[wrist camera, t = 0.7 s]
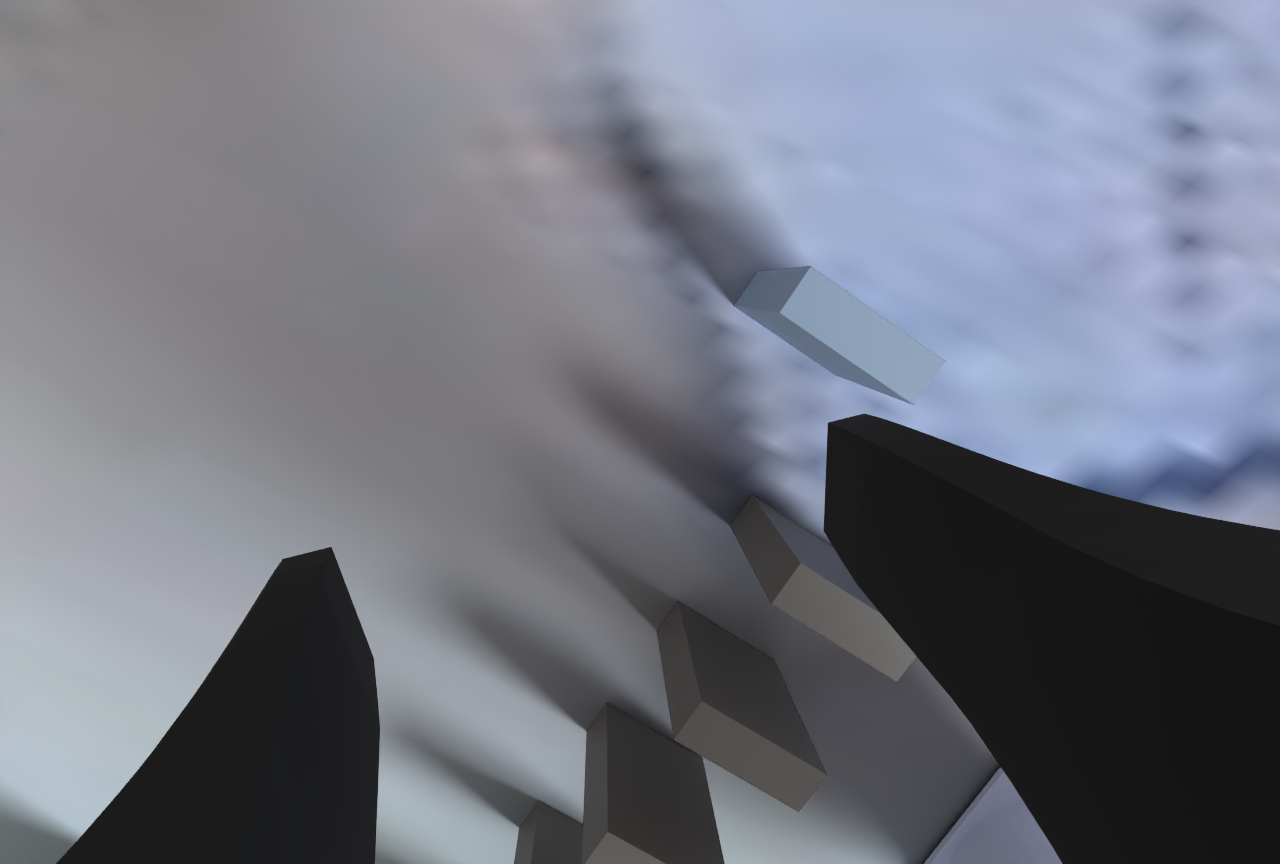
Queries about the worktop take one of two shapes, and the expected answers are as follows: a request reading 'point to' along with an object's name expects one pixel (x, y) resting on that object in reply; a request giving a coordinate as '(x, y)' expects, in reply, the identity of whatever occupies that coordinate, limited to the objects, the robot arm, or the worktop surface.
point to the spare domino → (839, 331)
